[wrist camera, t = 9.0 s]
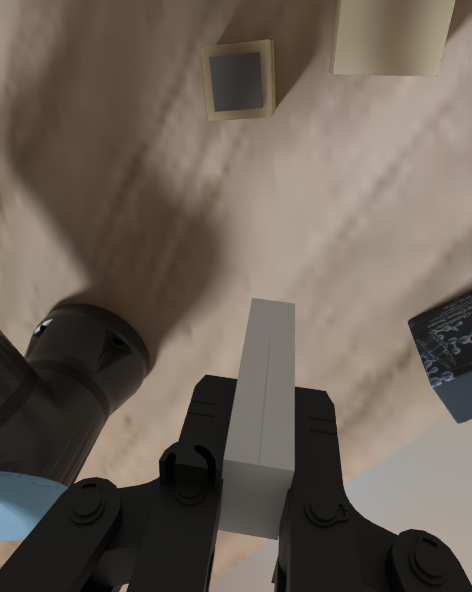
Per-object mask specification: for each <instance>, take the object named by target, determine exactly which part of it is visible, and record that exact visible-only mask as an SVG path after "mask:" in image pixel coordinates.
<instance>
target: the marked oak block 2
mask: <svg viewBox="0 0 472 592" xmlns="http://www.w3.org/2000/svg"><path fill="white" fill-rule="evenodd" d="M200 51H201V60H202V69H203V78H204V86H205V95H206V104H207V113H208V121H221V120H234V119H247V118H261V117H272V116H273V114H274V112H275V110H276V89H275V57H274V41H273V40H270V39H266V40H257V41H248V42H239V43H229V44H220V45H211V46H201V47H200Z"/></svg>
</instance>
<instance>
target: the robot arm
mask: <svg viewBox="0 0 472 592" xmlns="http://www.w3.org/2000/svg"><path fill="white" fill-rule="evenodd" d="M148 365H149V360H148V354H147V350H146V347H145V345H144V343H143V341H142V340H141V338H140V337H139V335H138V334H137V333H136V332H135V330H134V329H133V328H132V327H131V326H130V325H128V324H127V323H126V322H125V321H124V320H122V319H121V318H119V317H118V316H116V315H114V314H112V313H111V312H108V311H106V310H104V309H101V308H98V307H94V306H90V305H82V304H73V305H66V306H62V307H59V308H57V309H55V310H53V311H52V312H51V313H49V314H48V315H47V316H46V317H45V318H44V319H43V320H42V321H41V323H40V324H39V325H38V326H37V327H36V329H35V331H34V332H33V335H32V337H31V340H30V343H29V345H28V348H27V351H26V353H25V356H24V357H23V356H22V355H21V354H20V352H19V351H18V350H17V349H16V348H15V347H14V345H13V344H12V343H11V342H10V341H9V340H8V338H7V337H6V336H5V335H4V334H3V333H2V331H1V330H0V541H19V540H24V541H23V542H22V543H21V544H20V546H19V547H18V548H17V549H16V550H15V552H14V553H13V554H12V555H11V557H10V558H9V559H8V560H7V561H6V563H5V564H4V565H3V566H2V568H1V569H0V592H119V591H120V589H121V587H122V585H124V584H128V583H129V585H128V588H127V592H209V586H210V580H211V573H212V567H213V561H214V553H215V544H216V538H217V531H218V530H222V531H228V532H234V533H240V534H246V535H251V536H257V537H263V538H269V539H274V540H278V536H279V553H278V558H277V562H276V566H275V570H274V574H273V578H272V583H275V589H274V592H472V585H471V583H470V581H469V579H468V577H467V576H466V574H465V572H464V570H463V568H462V566H461V564H460V562H459V561H458V559H457V558H456V556H455V555H454V554H453V552H452V551H451V549H450V548H449V547H448V546H447V545H446V544H444V543H443V542H442V541H441V540H440V539H438V538H437V537H436V536H434V535H431V534H430V533H427V532H425V531H423V530H414V529H410V530H406V531H403V532H401V533H400V534H399V535H396V534H394V533H392V532H390V531H388V530H386V529H384V528H382V527H380V526H378V525H376V524H374V523H372V522H371V521H369V520H367V519H366V518H364V517H363V516H362V515H361V514H359V512H357V511H356V510H355V509H354V507H353V506H352V504H351V503H350V502H349V500H348V498H347V496H346V494H345V490H344V486H343V479H342V470H341V461H340V452H339V443H338V437H337V425H336V417H335V408H334V404H333V403H332V401H331V399H330V398H329V396H328V394H327V393H326V391H322V390H315V389H308V388H301V387H295V304H293V303H285V302H278V301H270V300H263V299H255V298H252V302H251V308H250V313H249V319H248V325H247V330H246V336H245V341H244V347H243V353H242V358H241V364H240V369H239V375H238V379H232V378H225V377H219V376H212V375H205V376H204V377H203V378H202V379H201V380H200V381H199V382H198V384H197V385H196V386H195V388H194V392H193V395H192V398H191V403H190V405H189V408H188V411H187V415H186V418H185V421H184V424H183V428H182V431H181V434H180V438H179V441H178V442H176V443H174V444H172V445H171V446H170V447H169V448H167V449H166V450H165V451H164V453H163V455H162V456H161V458H160V460H159V472H160V477H158V478H157V479H155V480H153V481H151V482H149V483H145V484H142V485H137V486H131V487H124V488H118V489H117V487H116V485H114V484H113V483H112V482H110V481H109V480H108V479H103V478H98V477H94V478H87V479H83V480H81V481H79V482H77V483H75V484H74V482H75V480H76V479H77V477H78V475H79V473H80V471H81V469H82V467H83V465H84V463H85V461H86V459H87V457H88V455H89V453H90V452H91V450H92V448H93V446H94V444H95V442H96V440H97V438H98V436H99V434H100V432H101V430H102V428H103V426H104V425H105V423H106V421H107V419H108V417H109V416H110V415H111V414H112V413H113V412H114V411H116V410H117V409H118V408H119V407H120V406H121V405H122V404H123V403H125V402H126V401H127V400H128V399H129V398H130V397H131V396H132V395H134V394H135V393H136V391H137V390H138V389H139V387H140V386H141V384H142V382H143V380H144V378H145V376H146V374H147V371H148Z"/></svg>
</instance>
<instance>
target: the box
mask: <svg viewBox="0 0 472 592" xmlns="http://www.w3.org/2000/svg"><path fill="white" fill-rule="evenodd" d="M408 325H409V328H410V331H411V333H412V336H413V339H414V341H415V344H416V347H417V349H418V352H419V355H420V357H421V360H422V363H423V365H424V368H425V371H426V373H427V376H428V379H429V381H430V384H431V386H432V388H433V389H434V391H435V392H436V394H437V395H438V396H439V398H440V399H441V401H442V402H443V403H444V405H445V406H446V408H447V409H448V411H449V412H450V414H451V415H452V417H453V418H454V419H455V421H456V422H457V423H459V424H460V423H463V422H466V421H468V420H470V419H472V292H471V293H469V294H466V295H464V296H462V297H460V298H458V299H456V300H454V301H451V302H449V303H447V304H445V305H443V306H441V307H439V308H436V309H434V310H432V311H430V312H428V313H426V314H424V315H421V316H419V317H417V318H414V319H412V320H410V321H408Z"/></svg>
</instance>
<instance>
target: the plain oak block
mask: <svg viewBox="0 0 472 592" xmlns="http://www.w3.org/2000/svg"><path fill="white" fill-rule="evenodd" d="M454 5H455V0H337V1H336V10H335V19H334V28H333V37H332V46H331V55H330V64H329V72H330V73H332V74H333V75H401V76H438V72H439V67H440V63H441V59H442V55H443V51H444V47H445V42H446V38H447V34H448V30H449V26H450V21H451V17H452V13H453V9H454Z"/></svg>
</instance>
